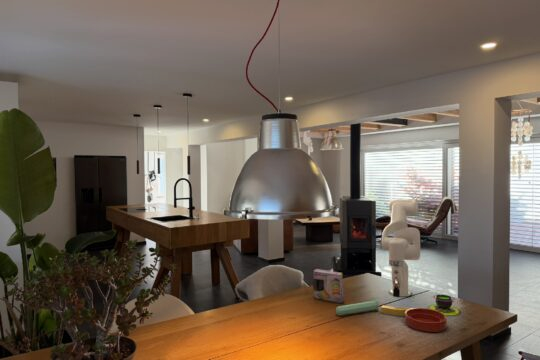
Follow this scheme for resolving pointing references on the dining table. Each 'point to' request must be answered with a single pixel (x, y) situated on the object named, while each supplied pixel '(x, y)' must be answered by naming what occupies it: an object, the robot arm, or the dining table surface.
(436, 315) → the bowl
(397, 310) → the banana
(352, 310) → the pale green faceted rod
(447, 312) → the toy cauldron
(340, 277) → the cake pan box
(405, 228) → the robot arm
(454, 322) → the dining table surface
